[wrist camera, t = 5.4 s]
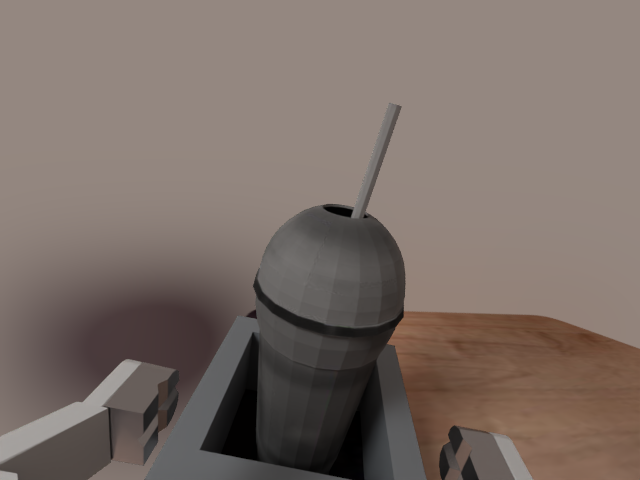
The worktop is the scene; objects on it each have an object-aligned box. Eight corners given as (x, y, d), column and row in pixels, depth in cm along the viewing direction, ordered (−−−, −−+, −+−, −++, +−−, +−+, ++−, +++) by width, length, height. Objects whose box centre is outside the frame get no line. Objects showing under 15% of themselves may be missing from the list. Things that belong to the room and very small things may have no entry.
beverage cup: (295, 389, 24) (349, 107, 18) (376, 461, 20) (488, 125, 13) (206, 450, 19) (237, 74, 12) (293, 567, 14) (412, 87, 8)
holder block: (145, 557, 14) (144, 479, 12) (232, 370, 25) (237, 315, 23) (405, 610, 14) (440, 537, 12) (378, 398, 25) (394, 345, 23)
